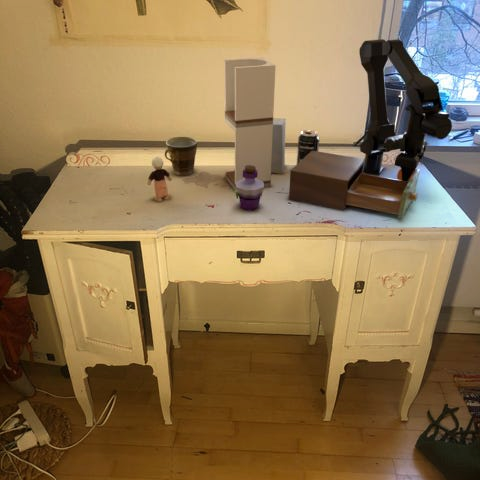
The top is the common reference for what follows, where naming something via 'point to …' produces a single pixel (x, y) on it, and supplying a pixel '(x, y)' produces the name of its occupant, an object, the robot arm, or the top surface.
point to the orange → (399, 175)
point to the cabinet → (324, 179)
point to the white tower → (250, 115)
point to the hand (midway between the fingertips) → (406, 180)
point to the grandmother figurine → (159, 179)
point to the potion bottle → (249, 189)
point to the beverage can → (307, 144)
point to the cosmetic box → (278, 146)
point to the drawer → (382, 193)
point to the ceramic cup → (182, 154)
